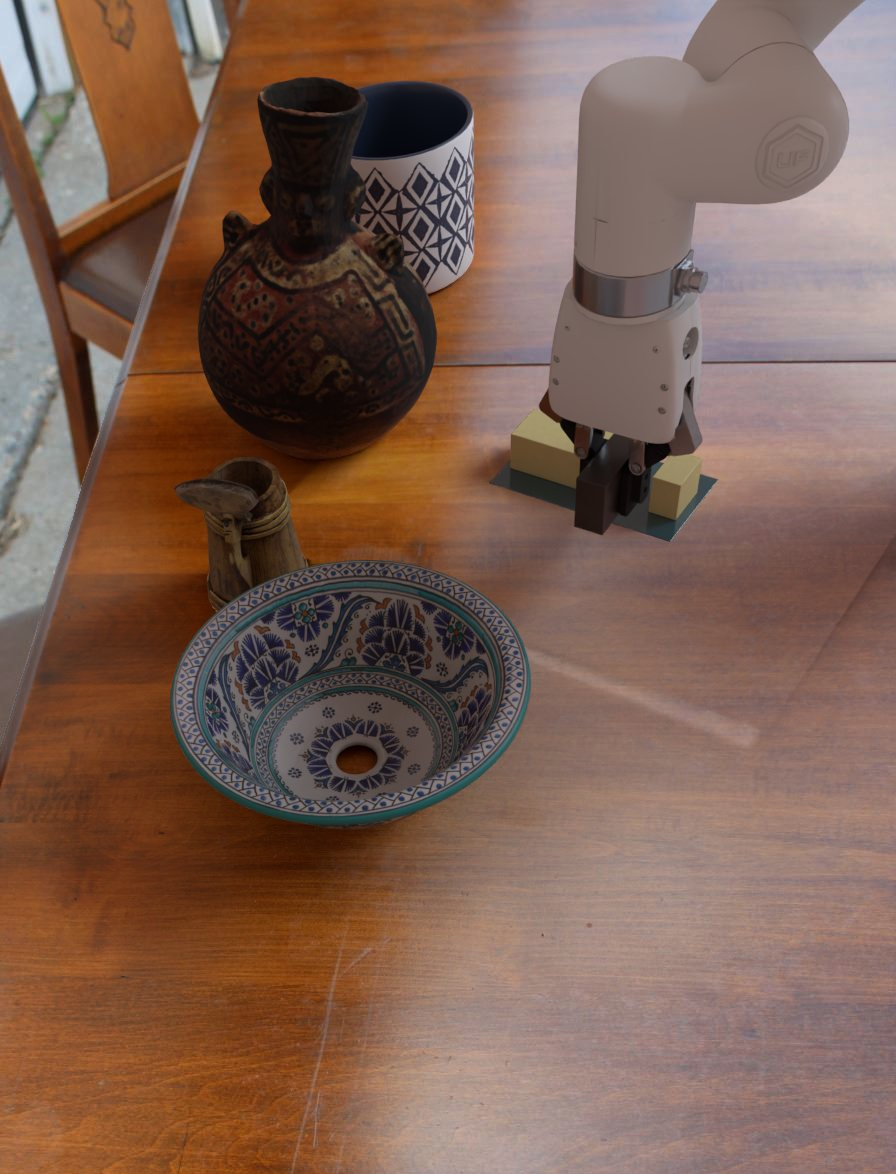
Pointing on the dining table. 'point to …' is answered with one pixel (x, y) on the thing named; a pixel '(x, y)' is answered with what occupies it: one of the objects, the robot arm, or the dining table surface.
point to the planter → (419, 175)
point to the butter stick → (545, 450)
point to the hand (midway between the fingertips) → (612, 498)
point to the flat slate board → (635, 520)
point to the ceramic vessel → (314, 292)
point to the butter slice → (675, 485)
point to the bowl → (350, 692)
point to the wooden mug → (244, 526)
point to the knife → (601, 486)
